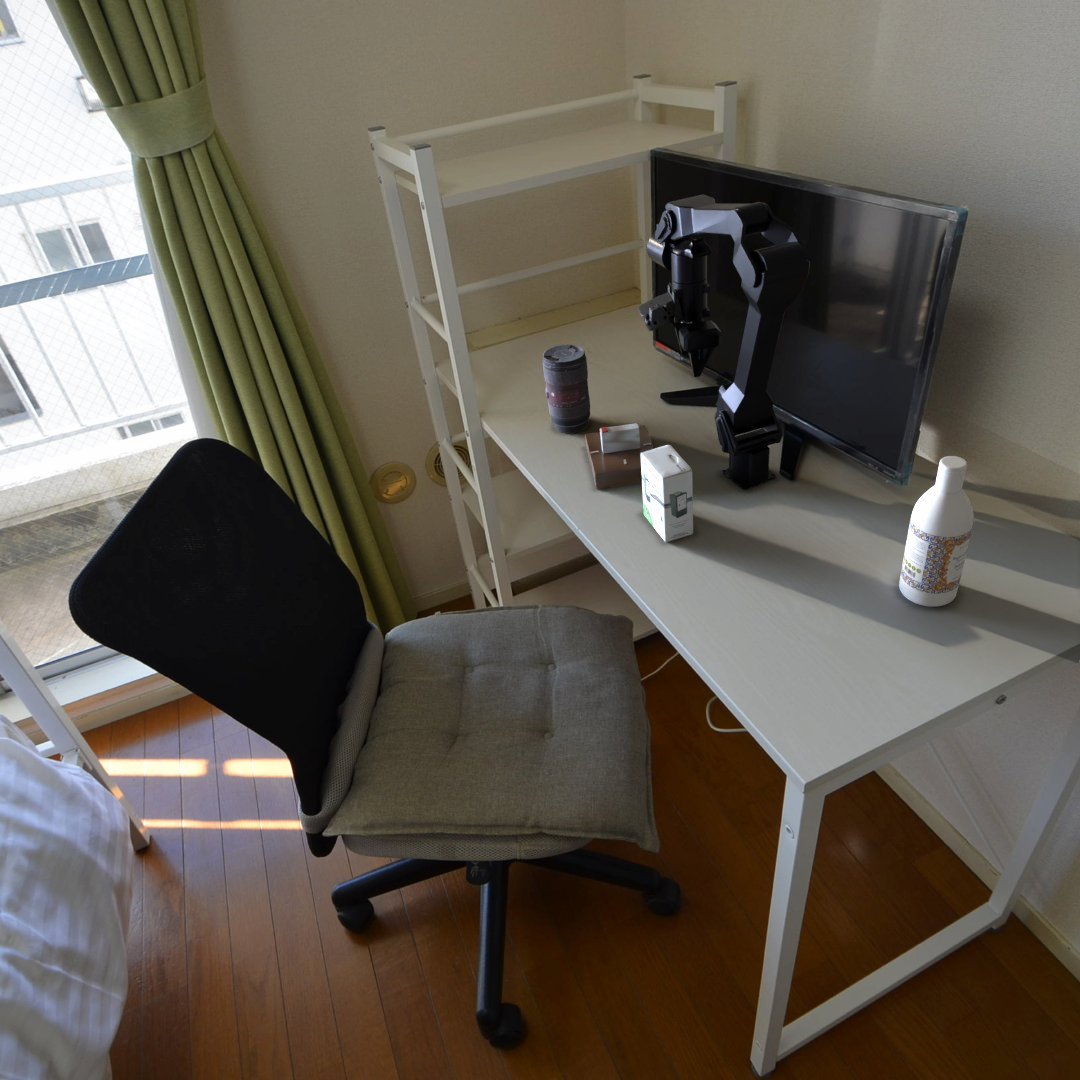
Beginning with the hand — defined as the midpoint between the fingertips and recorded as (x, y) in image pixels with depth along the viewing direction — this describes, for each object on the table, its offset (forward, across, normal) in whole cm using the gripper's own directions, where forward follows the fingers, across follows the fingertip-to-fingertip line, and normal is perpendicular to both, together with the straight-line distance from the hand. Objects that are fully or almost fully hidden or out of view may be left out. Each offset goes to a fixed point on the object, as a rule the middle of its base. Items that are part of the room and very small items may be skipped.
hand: (690, 365), depth 142 cm
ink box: (+12, +29, -11) cm, 33 cm away
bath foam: (+12, +53, +19) cm, 57 cm away
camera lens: (+12, -7, -22) cm, 26 cm away
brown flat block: (+12, +10, -15) cm, 21 cm away
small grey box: (+9, +10, -15) cm, 20 cm away
